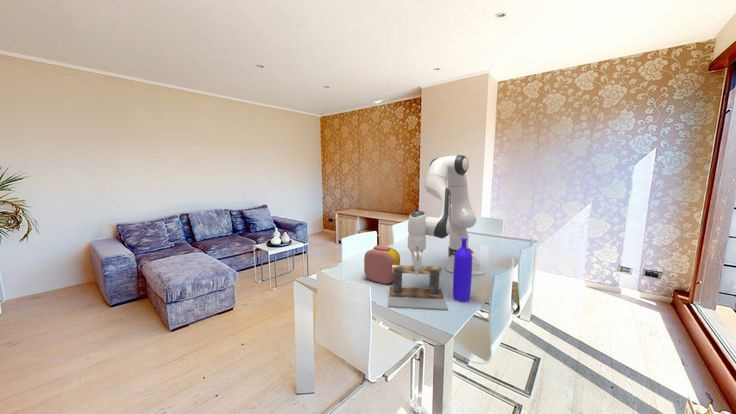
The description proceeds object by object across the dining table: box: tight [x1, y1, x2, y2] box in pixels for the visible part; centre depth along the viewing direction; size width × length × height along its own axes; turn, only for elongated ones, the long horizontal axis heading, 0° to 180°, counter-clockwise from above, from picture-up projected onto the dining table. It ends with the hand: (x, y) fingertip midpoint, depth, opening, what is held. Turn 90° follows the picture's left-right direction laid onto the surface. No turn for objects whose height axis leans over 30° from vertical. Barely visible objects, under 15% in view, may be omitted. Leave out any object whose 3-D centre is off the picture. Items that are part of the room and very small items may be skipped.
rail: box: [392, 264, 442, 276], centre depth 137 cm, size 24×3×3 cm, turn 84°
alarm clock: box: [363, 244, 401, 285], centre depth 155 cm, size 18×11×19 cm, turn 61°
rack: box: [389, 266, 444, 300], centre depth 138 cm, size 26×8×14 cm, turn 84°
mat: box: [387, 297, 449, 311], centre depth 128 cm, size 27×8×1 cm, turn 84°
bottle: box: [452, 238, 473, 303], centre depth 132 cm, size 8×8×30 cm
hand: (416, 271), depth 137 cm, fingers open, 6 cm apart
